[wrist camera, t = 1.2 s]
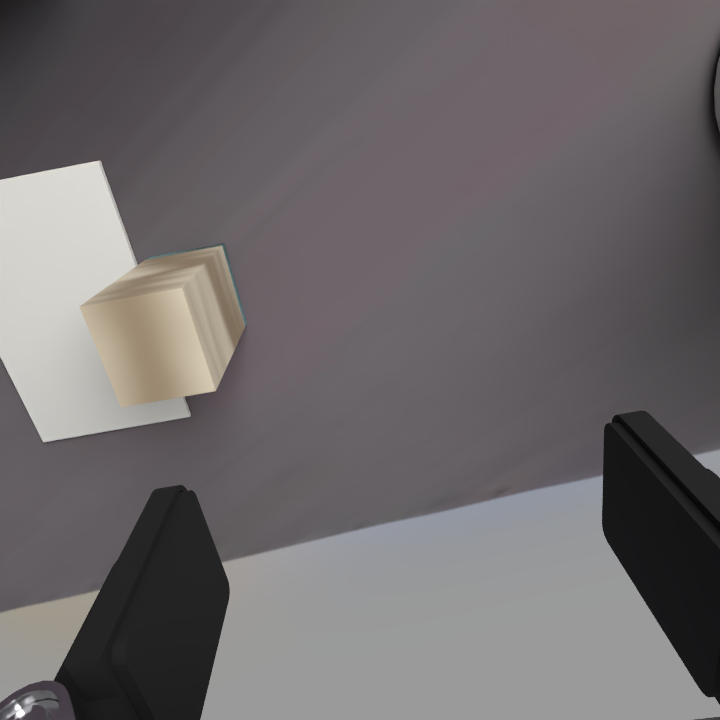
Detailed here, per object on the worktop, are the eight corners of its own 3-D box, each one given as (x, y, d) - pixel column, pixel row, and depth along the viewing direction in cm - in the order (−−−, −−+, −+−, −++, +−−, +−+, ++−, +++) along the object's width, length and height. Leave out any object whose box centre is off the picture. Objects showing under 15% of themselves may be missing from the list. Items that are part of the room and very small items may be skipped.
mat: (100, 160, 28) (98, 160, 28) (191, 414, 35) (189, 416, 35) (-77, 194, 29) (-81, 195, 29) (45, 439, 35) (43, 442, 35)
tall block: (224, 243, 31) (181, 287, 22) (246, 323, 33) (215, 391, 24) (148, 257, 31) (79, 306, 23) (175, 336, 33) (121, 407, 25)
